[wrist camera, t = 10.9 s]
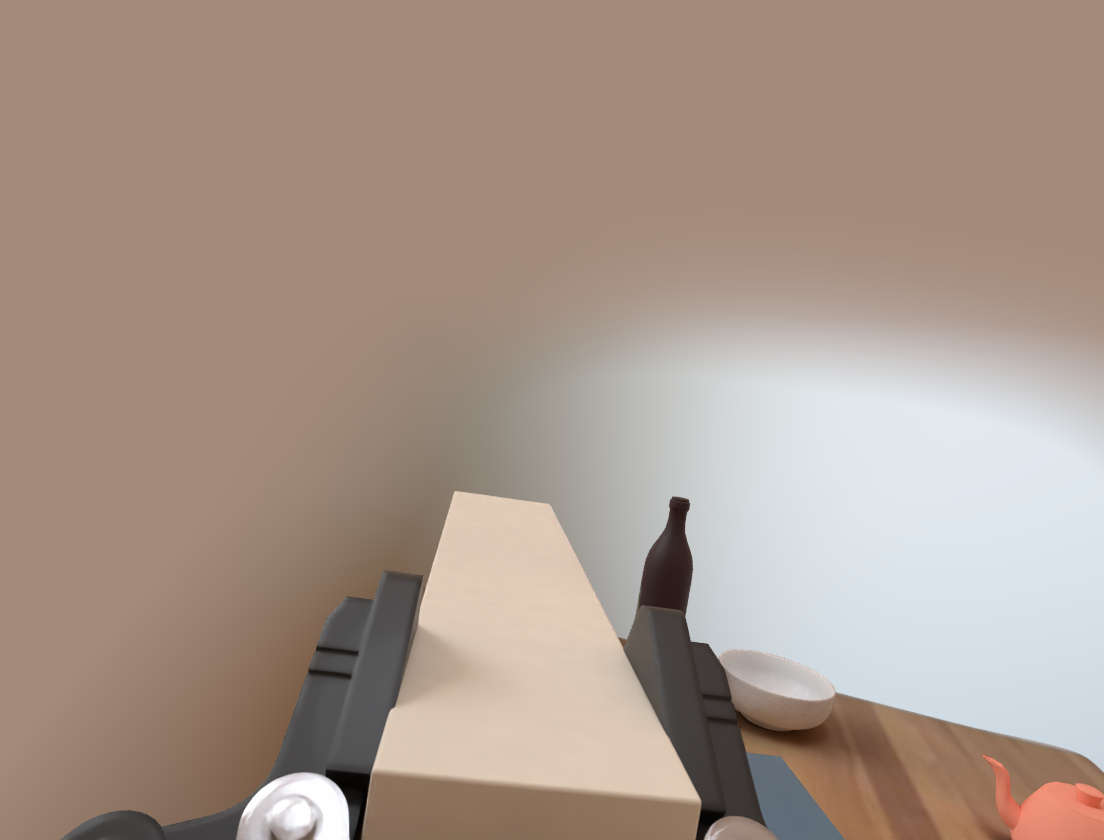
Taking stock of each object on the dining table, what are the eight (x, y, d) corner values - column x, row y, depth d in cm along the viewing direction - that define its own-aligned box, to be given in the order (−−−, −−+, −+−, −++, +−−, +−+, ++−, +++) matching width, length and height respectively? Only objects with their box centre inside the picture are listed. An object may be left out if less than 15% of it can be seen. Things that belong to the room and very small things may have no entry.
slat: (347, 935, 8) (370, 769, 8) (447, 538, 28) (454, 490, 28) (676, 958, 8) (703, 801, 8) (542, 550, 28) (550, 504, 28)
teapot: (1185, 951, 64) (1205, 855, 63) (965, 851, 74) (981, 768, 73) (1161, 885, 74) (1179, 802, 73) (970, 805, 84) (985, 732, 83)
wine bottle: (660, 688, 104) (693, 497, 102) (677, 711, 97) (713, 506, 95) (616, 684, 102) (650, 490, 101) (630, 707, 95) (666, 499, 94)
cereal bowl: (841, 761, 90) (851, 710, 89) (715, 732, 92) (724, 682, 92) (811, 705, 106) (819, 662, 106) (705, 681, 109) (713, 639, 108)
